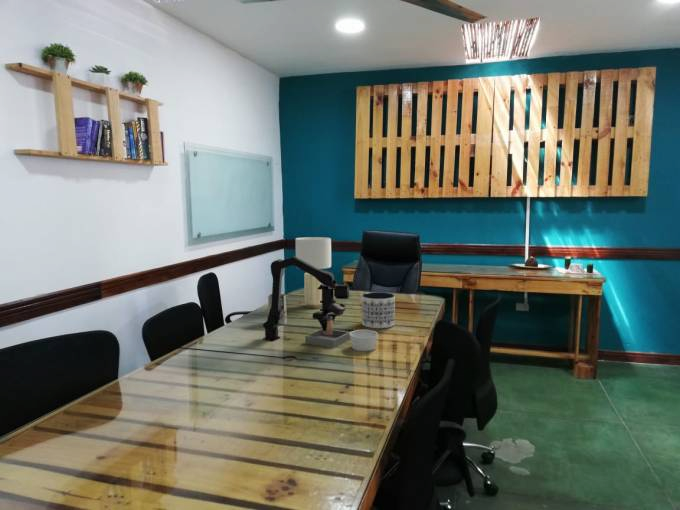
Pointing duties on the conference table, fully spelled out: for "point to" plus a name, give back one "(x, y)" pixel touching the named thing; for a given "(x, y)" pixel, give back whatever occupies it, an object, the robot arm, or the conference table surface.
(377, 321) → the planter
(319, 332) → the tray
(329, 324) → the shaker
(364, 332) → the ramekin
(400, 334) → the conference table surface
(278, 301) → the robot arm
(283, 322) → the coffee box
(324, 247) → the lamp
